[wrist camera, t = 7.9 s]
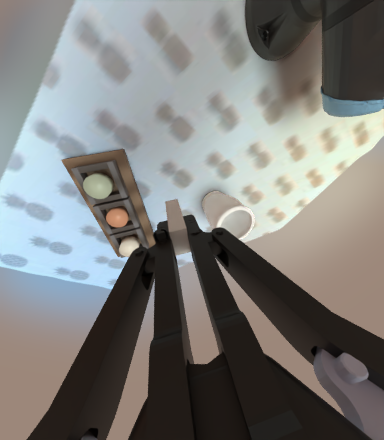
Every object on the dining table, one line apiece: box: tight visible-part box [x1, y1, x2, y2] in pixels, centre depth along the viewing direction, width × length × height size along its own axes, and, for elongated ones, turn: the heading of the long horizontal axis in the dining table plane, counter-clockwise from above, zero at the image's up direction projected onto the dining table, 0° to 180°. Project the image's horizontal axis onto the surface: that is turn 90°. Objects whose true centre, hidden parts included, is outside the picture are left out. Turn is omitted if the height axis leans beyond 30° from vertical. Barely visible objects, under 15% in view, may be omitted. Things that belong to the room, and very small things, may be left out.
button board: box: [62, 149, 155, 258], centre depth 39 cm, size 30×13×5 cm, turn 9°
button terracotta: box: [106, 206, 129, 227], centre depth 37 cm, size 5×5×3 cm
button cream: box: [119, 236, 139, 257], centre depth 40 cm, size 5×5×3 cm
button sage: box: [83, 173, 114, 199], centre depth 31 cm, size 5×5×3 cm
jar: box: [202, 191, 255, 240], centre depth 41 cm, size 11×10×15 cm
